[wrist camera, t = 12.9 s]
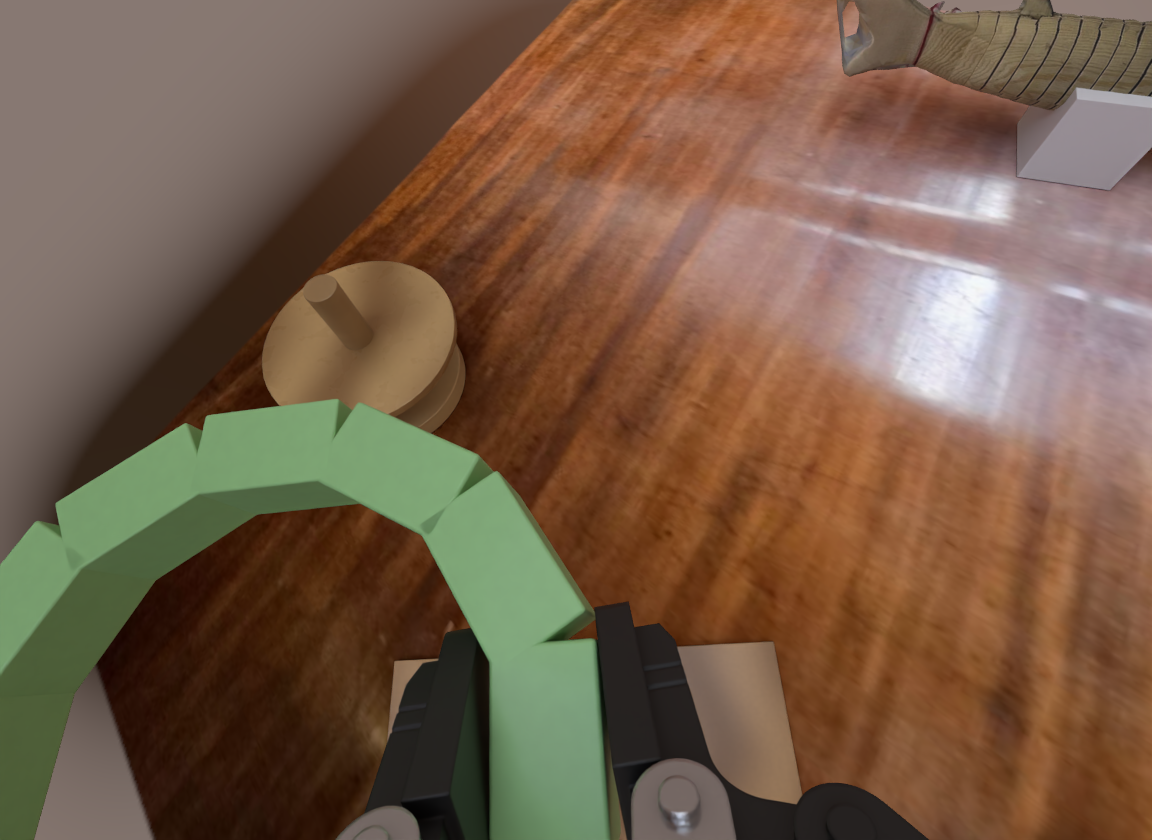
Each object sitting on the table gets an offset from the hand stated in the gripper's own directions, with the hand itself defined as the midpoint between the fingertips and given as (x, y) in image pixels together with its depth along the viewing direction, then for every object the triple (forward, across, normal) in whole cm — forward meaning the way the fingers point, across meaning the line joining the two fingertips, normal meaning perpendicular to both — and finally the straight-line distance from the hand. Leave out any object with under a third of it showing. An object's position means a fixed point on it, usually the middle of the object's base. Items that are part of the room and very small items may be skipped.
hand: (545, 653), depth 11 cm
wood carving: (+35, -38, -8) cm, 53 cm away
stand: (+27, +11, 0) cm, 29 cm away
